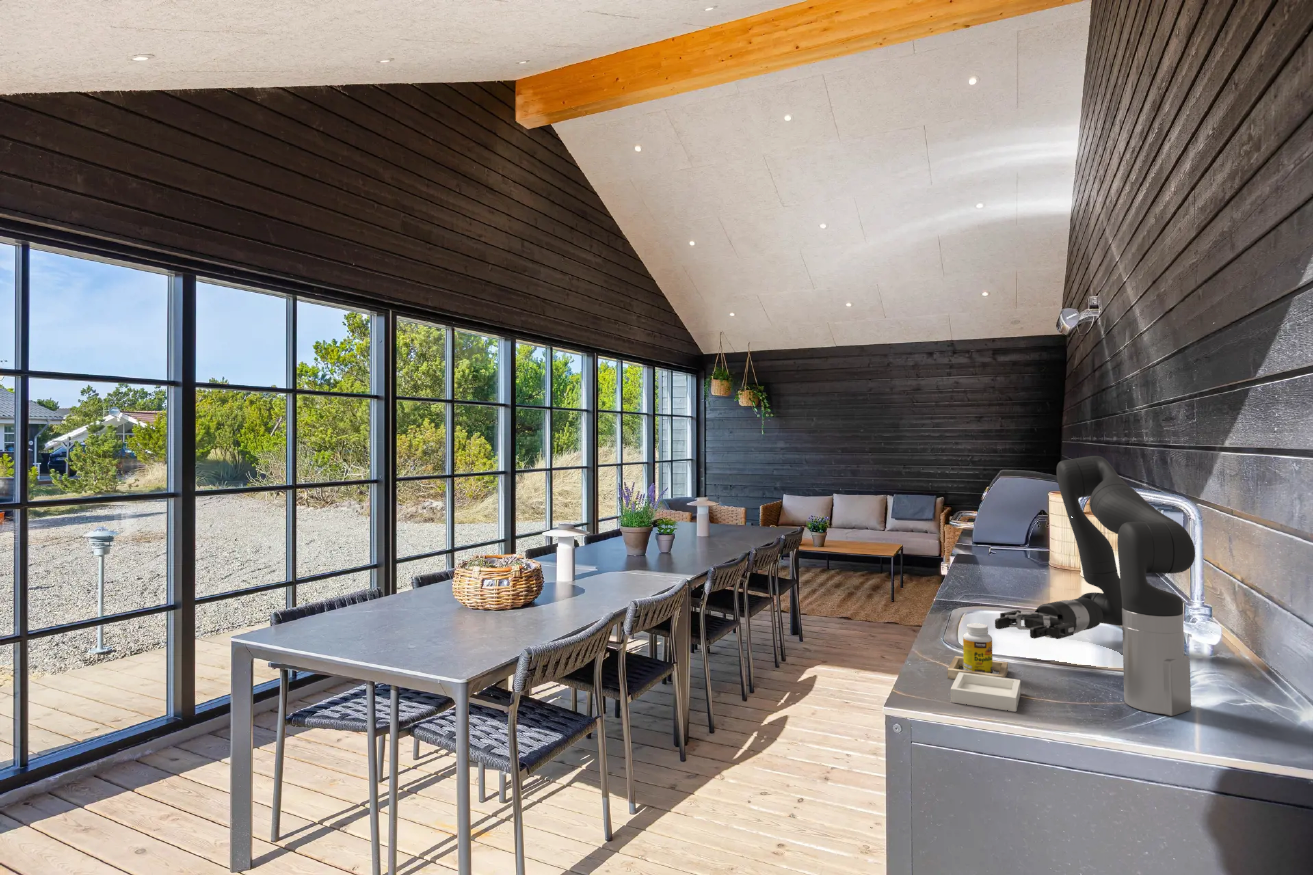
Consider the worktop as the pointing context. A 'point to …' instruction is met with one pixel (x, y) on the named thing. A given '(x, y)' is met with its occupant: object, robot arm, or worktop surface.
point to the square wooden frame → (959, 661)
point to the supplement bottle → (977, 649)
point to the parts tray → (986, 691)
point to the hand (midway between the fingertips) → (1013, 628)
